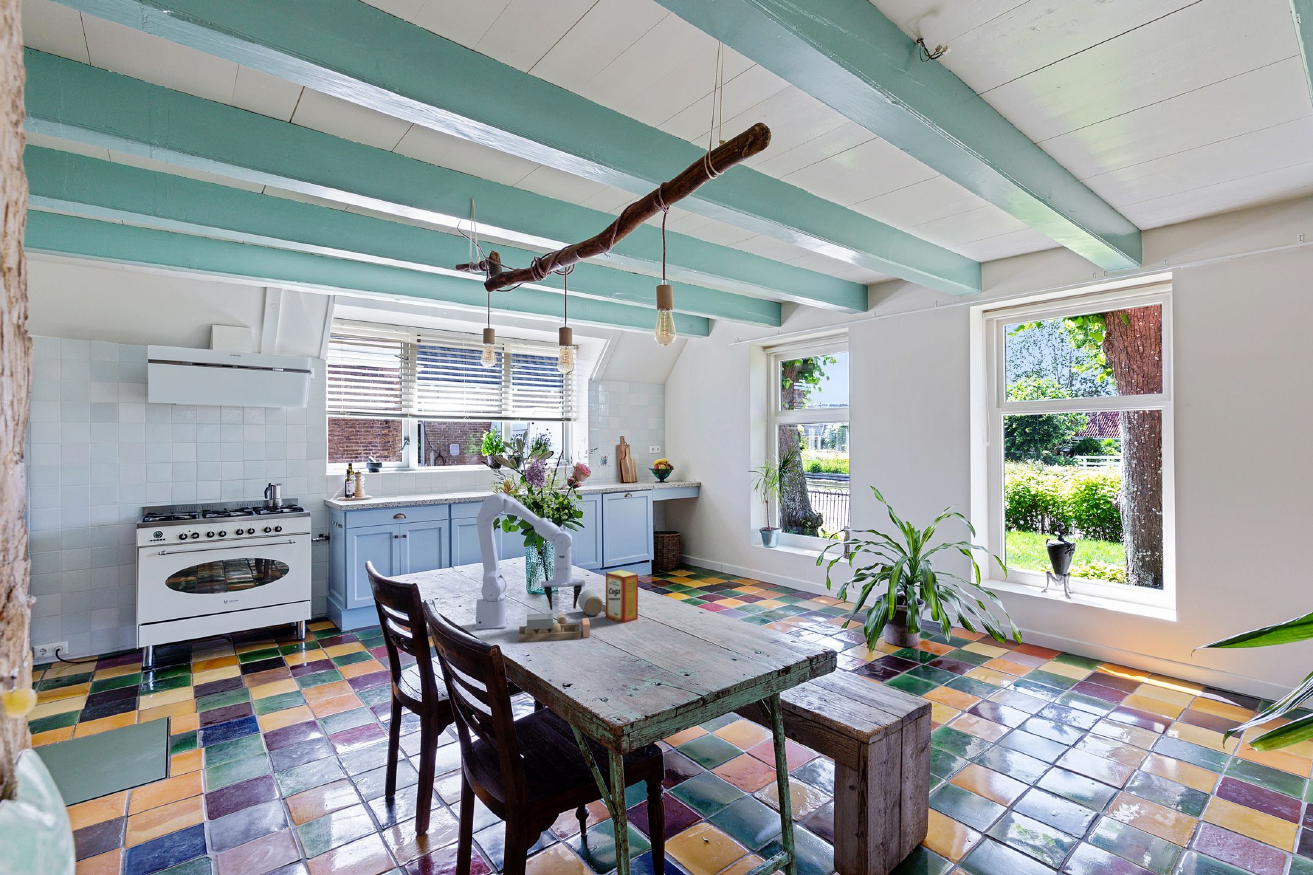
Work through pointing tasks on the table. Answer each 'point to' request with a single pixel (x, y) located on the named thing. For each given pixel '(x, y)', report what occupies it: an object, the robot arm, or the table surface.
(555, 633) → the roller track
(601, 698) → the table surface
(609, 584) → the baking soda box
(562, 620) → the roller
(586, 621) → the block
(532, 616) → the slab
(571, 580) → the robot arm
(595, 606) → the ceramic mug
